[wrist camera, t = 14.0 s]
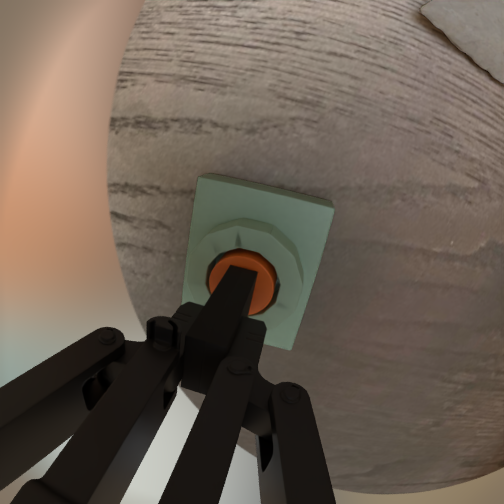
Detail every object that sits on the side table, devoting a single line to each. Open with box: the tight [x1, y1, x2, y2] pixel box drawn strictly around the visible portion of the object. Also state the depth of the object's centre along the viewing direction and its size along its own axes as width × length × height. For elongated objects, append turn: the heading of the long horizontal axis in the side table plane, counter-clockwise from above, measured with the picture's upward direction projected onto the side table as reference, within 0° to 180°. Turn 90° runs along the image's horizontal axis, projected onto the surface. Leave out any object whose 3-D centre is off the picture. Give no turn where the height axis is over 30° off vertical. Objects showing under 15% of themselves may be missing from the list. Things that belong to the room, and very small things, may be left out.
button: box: [209, 248, 277, 315], centre depth 18 cm, size 4×4×2 cm
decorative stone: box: [420, 0, 504, 84], centre depth 11 cm, size 8×12×3 cm
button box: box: [181, 173, 335, 350], centre depth 19 cm, size 8×10×4 cm
